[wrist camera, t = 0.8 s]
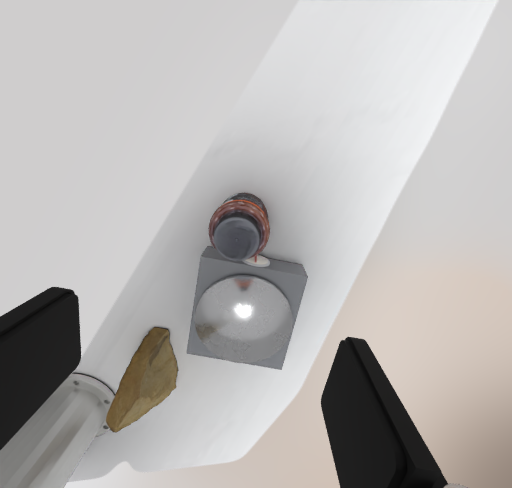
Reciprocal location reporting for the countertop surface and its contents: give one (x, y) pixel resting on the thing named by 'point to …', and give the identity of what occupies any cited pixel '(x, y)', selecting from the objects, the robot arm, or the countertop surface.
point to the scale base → (275, 271)
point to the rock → (144, 380)
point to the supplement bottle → (240, 227)
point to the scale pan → (243, 319)
